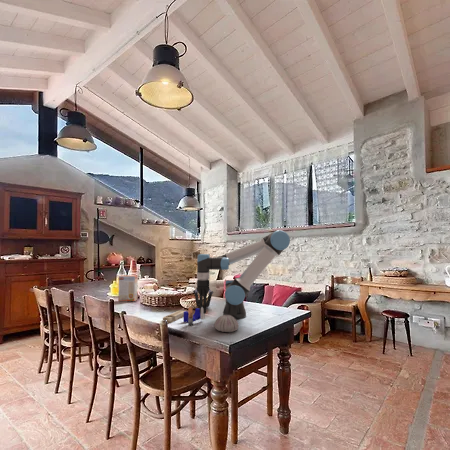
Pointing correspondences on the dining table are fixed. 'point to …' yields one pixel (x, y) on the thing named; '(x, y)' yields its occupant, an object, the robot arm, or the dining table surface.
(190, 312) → the awl
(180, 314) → the joist batten
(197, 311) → the cable clip
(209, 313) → the dining table surface
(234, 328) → the sea urchin shell
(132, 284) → the cracker box
